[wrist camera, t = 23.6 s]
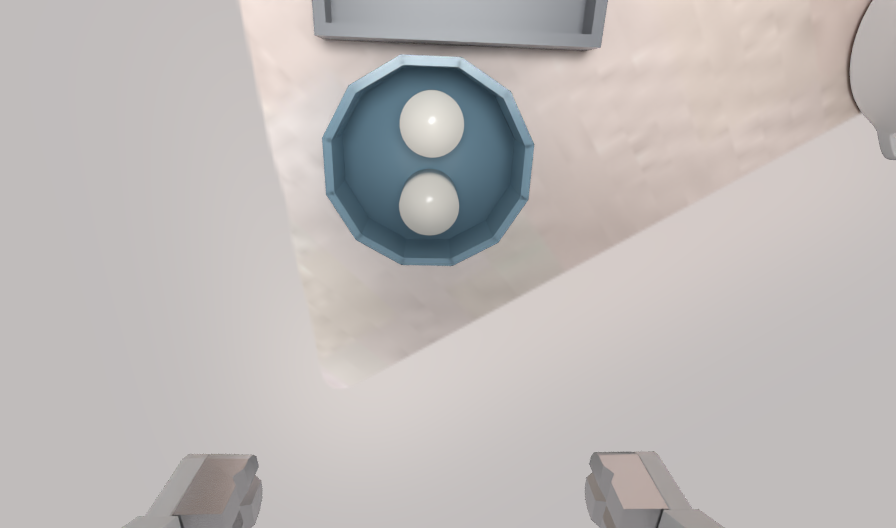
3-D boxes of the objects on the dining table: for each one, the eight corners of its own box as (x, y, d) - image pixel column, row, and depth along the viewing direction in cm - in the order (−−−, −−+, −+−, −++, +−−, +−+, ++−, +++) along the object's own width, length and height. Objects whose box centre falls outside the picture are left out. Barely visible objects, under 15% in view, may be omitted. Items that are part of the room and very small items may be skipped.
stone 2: (457, 168, 36) (459, 177, 33) (456, 222, 38) (458, 235, 34) (401, 168, 36) (398, 176, 33) (402, 222, 37) (399, 235, 34)
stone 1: (462, 91, 34) (466, 91, 30) (459, 152, 35) (462, 159, 32) (402, 88, 33) (399, 88, 30) (401, 149, 35) (399, 156, 32)
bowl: (526, 63, 34) (543, 60, 29) (509, 243, 40) (521, 267, 35) (333, 55, 33) (315, 50, 28) (343, 240, 39) (331, 263, 34)
